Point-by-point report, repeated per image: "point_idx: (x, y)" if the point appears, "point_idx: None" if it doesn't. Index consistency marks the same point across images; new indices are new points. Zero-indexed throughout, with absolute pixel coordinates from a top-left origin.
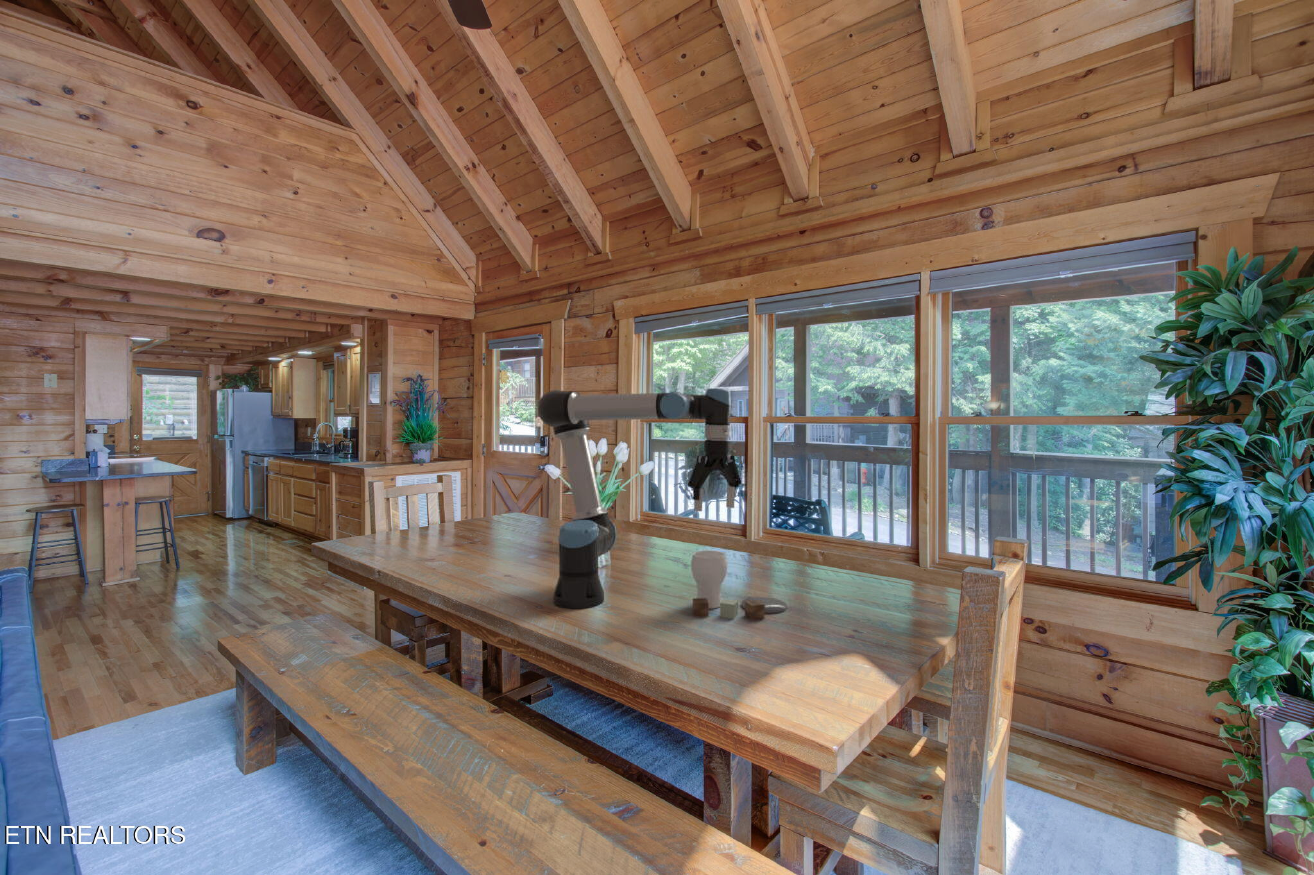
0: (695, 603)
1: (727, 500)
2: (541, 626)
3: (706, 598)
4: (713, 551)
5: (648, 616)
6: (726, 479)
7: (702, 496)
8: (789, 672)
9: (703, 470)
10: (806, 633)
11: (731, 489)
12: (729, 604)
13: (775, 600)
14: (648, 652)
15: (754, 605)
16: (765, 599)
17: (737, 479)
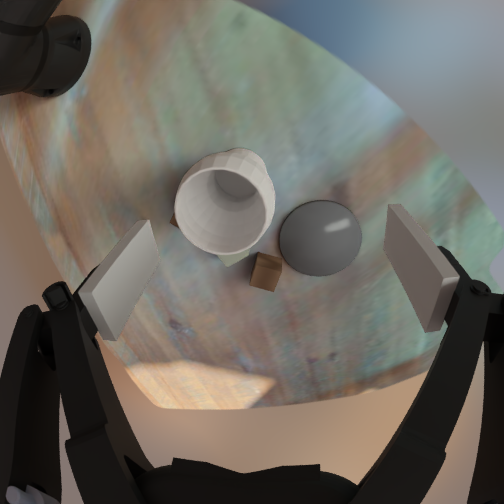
0: (172, 223)
1: (401, 229)
2: (7, 148)
3: None
4: (257, 188)
5: (114, 173)
6: (447, 334)
7: (132, 309)
8: (187, 369)
9: (78, 434)
10: (277, 336)
11: (422, 307)
12: (221, 260)
13: (352, 240)
14: (84, 276)
15: (254, 286)
16: (343, 226)
17: (484, 364)
